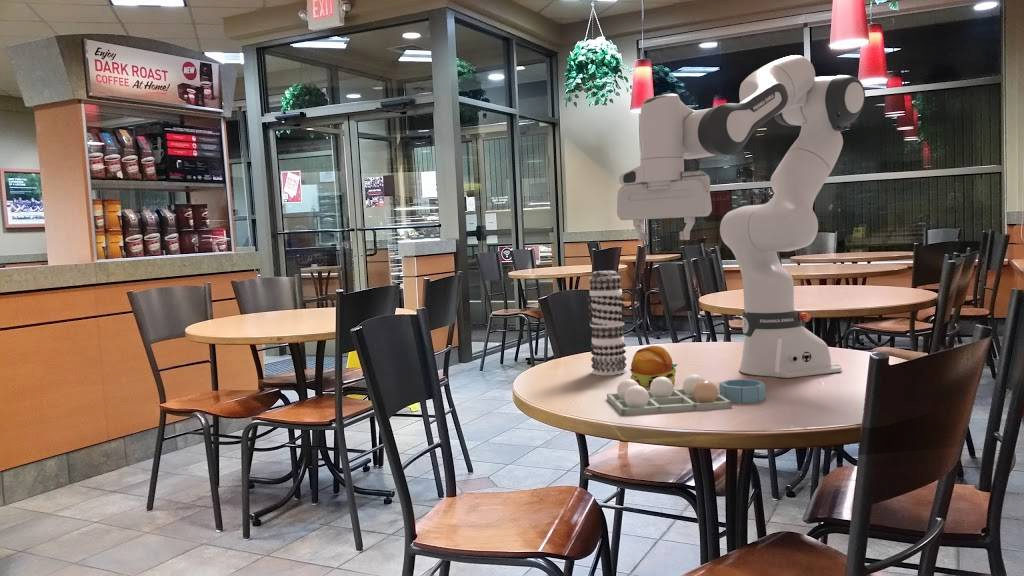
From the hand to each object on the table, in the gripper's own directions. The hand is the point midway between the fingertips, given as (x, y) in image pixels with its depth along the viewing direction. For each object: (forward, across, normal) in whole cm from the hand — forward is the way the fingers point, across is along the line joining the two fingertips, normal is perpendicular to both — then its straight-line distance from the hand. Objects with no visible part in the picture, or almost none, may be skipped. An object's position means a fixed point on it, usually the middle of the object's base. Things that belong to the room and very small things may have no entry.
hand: (663, 240), depth 158 cm
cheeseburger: (+32, +6, -6) cm, 33 cm away
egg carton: (+32, -5, +11) cm, 35 cm away
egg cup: (+32, -16, +1) cm, 36 cm away
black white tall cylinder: (+32, +24, -16) cm, 43 cm away
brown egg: (+32, -13, +9) cm, 35 cm away
